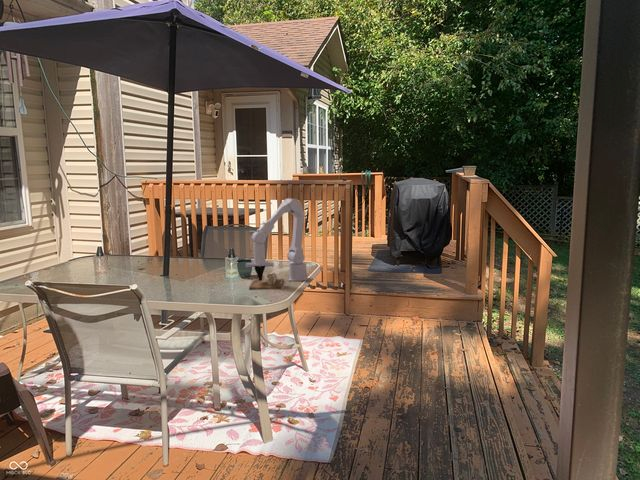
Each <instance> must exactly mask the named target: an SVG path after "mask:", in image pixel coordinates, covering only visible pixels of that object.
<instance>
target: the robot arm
mask: <svg viewBox="0 0 640 480" xmlns="http://www.w3.org/2000/svg"><path fill="white" fill-rule="evenodd" d="M302 205H303V203H302V202H301V201H300V200H299V199H297V198H289V197H287V198H285V199H284V200H283V201H282V202H281V203H280V205H279V206H278V208H277V209H276V210H275V212H274V213H273V214H272V216H271V217H270V218H269V220H268V219H267V220H265V221H262V224H261V226H260V227H259V228H257V229H256V231H255V232H253V233H252V235H251V237H250V238H251V241H252V242H253V244H252V245H253V261H254V262H252V263H246V267H252V268H253V269H254V271H255V272H256V275H257V277H258V279H259V281H262V279H263V274H264V271H265V269H266V267H272V268H273V267H275V262H268V261H266V251H265V250H266V249H265V242H266V241H267V237H268V235H269V234H270V233H271V232H272V231H273V230H274V228H275V224H276V223H277V221H279V220H280V218H281V217H282V216H284V214H286V213H287V214H288V213H291V215H292V216H293V219H294V220H293V226H292V227H293V228H292V237H291V239H292V240H291V246H290V247H289V249H288V250H289V251H288V252H287V255H286V257H287V260H288V262H289V269H288V270H289V278H288V281H289V282H295V281H296V282H297V281H298V282H299V281H302V282H303V281H307V277H308V273H307V263H305V262H304V260H305V255H304V249H303V247H302V244H303V234H304V225H305V224H304V223H305V211H304V209H303V206H302Z"/></svg>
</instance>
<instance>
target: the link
mask: <svg viewBox="0 0 640 480" xmlns="http://www.w3.org/2000/svg"><path fill="white" fill-rule="evenodd" d="M271 274H276V276H275V278H273V284H274V283H275V281H276V280H277V279H278V274H277V273H276V272H271ZM267 279H268V284H269V278H267Z"/></svg>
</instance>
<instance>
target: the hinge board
mask: <svg viewBox="0 0 640 480" xmlns="http://www.w3.org/2000/svg"><path fill="white" fill-rule="evenodd" d="M276 274H277V273H275V274H272V273H267V274H266V275H267V276H266V278H264V279H263V278H262V281H259V278H258V279H253V280H252V282H251V283H250V285H249V287H248V290H280V289H282V285H283V282H284V278H277V280H276V281H275V283H274V284H273V278H275V276H276ZM268 278H269V284H268Z"/></svg>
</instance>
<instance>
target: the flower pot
mask: <svg viewBox="0 0 640 480" xmlns="http://www.w3.org/2000/svg"><path fill="white" fill-rule="evenodd" d="M236 260H237V261H236ZM236 260H235V261H236V263H235V264H236V269H237V273H238V275H239V276H240V277H241V278H248V277H251V275H252V271H253V267H246V263H253V259H251V258H249V259H248V258H246V259H236ZM237 262H238V263H237Z"/></svg>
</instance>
